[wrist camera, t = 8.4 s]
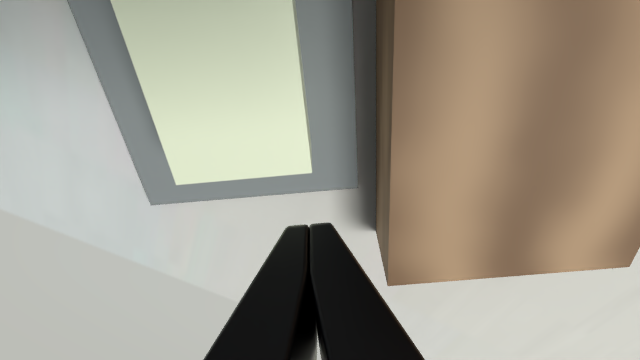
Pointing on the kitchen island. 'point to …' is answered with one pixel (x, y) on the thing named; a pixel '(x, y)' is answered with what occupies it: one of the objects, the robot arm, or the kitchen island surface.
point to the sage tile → (221, 85)
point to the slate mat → (321, 96)
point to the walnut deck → (506, 137)
